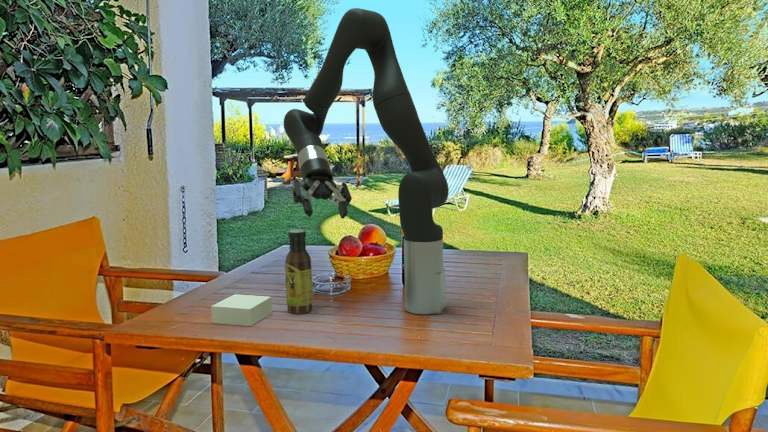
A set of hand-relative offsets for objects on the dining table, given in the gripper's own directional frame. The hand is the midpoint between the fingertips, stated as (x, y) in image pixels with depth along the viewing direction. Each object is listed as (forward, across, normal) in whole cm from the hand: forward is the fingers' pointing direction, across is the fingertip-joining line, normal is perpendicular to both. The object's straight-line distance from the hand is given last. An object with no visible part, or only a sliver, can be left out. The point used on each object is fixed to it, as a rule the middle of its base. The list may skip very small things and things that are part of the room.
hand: (327, 215), depth 139 cm
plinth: (+14, -17, +22) cm, 31 cm away
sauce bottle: (+14, -4, +20) cm, 25 cm away
